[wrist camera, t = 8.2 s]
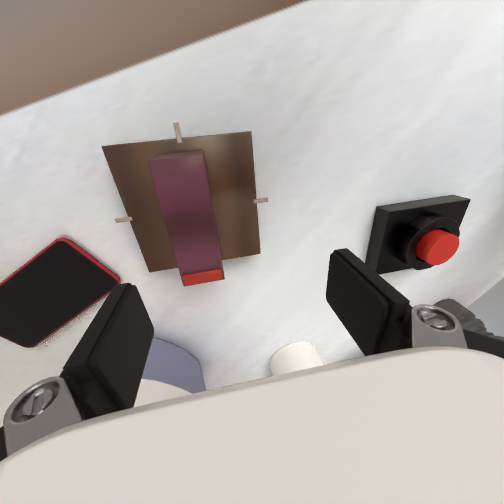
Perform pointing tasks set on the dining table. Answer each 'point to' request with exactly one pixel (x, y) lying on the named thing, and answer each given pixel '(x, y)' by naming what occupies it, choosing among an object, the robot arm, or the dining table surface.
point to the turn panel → (221, 186)
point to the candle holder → (465, 318)
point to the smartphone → (51, 292)
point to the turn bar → (188, 214)
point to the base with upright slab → (295, 358)
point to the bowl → (168, 374)
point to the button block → (410, 230)
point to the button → (437, 247)
